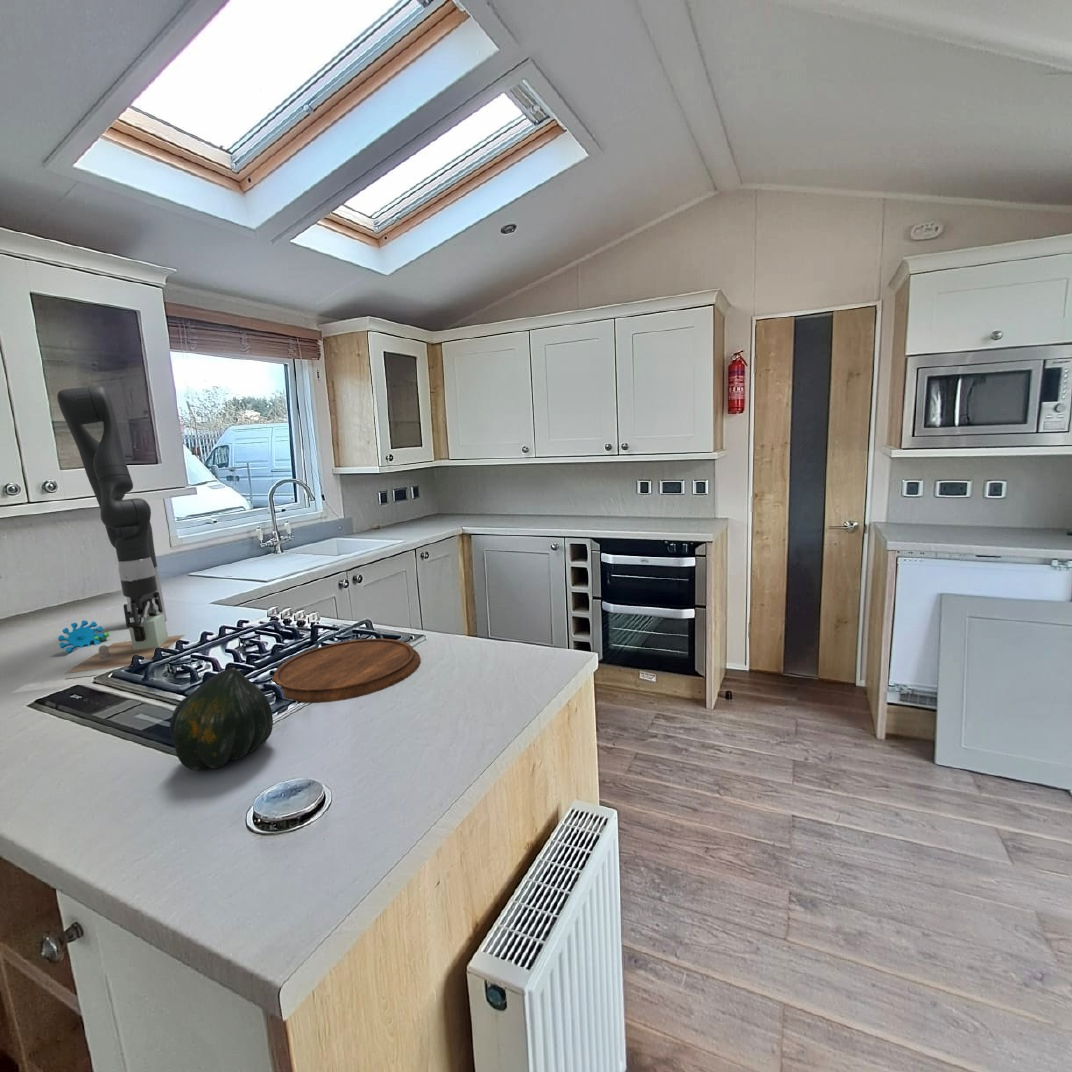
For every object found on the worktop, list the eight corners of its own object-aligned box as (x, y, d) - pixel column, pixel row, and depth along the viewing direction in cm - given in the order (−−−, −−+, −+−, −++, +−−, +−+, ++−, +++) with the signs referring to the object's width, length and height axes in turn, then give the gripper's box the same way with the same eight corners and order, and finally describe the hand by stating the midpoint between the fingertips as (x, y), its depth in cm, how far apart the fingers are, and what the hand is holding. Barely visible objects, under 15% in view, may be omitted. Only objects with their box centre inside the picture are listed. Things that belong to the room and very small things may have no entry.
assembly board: (114, 648, 159) (110, 629, 158) (186, 640, 162) (182, 620, 161) (65, 679, 138) (60, 657, 137) (148, 669, 140) (144, 647, 140)
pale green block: (144, 642, 157) (139, 617, 156) (168, 639, 158) (164, 614, 157) (133, 649, 151) (128, 624, 150) (158, 646, 152) (153, 621, 151)
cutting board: (234, 697, 121) (232, 685, 121) (336, 643, 151) (335, 634, 150) (363, 711, 110) (361, 698, 109) (445, 650, 139) (444, 640, 139)
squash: (131, 750, 89) (184, 676, 87) (193, 709, 103) (239, 645, 102) (207, 806, 89) (261, 733, 87) (258, 757, 104) (305, 694, 102)
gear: (53, 653, 153) (61, 620, 159) (59, 663, 158) (67, 631, 163) (104, 650, 158) (110, 618, 164) (108, 660, 162) (115, 628, 168)
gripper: (135, 572, 158) (146, 629, 161) (106, 583, 144) (119, 646, 147) (165, 569, 159) (175, 626, 162) (140, 580, 145) (151, 642, 148)
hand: (148, 636), depth 154 cm, fingers open, 8 cm apart
